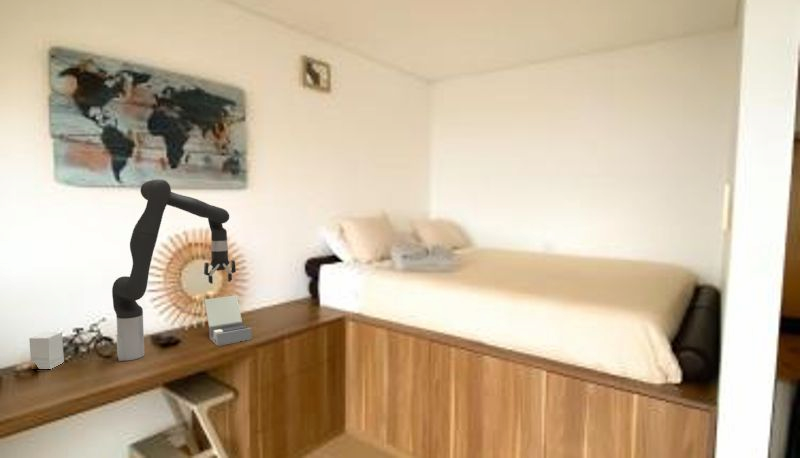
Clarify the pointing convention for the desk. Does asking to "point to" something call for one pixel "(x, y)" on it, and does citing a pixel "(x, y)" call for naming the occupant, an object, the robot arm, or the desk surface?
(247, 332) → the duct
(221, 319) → the panel
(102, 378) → the desk surface
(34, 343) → the supplement box
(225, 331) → the gray white block
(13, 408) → the desk surface
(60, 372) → the desk surface
